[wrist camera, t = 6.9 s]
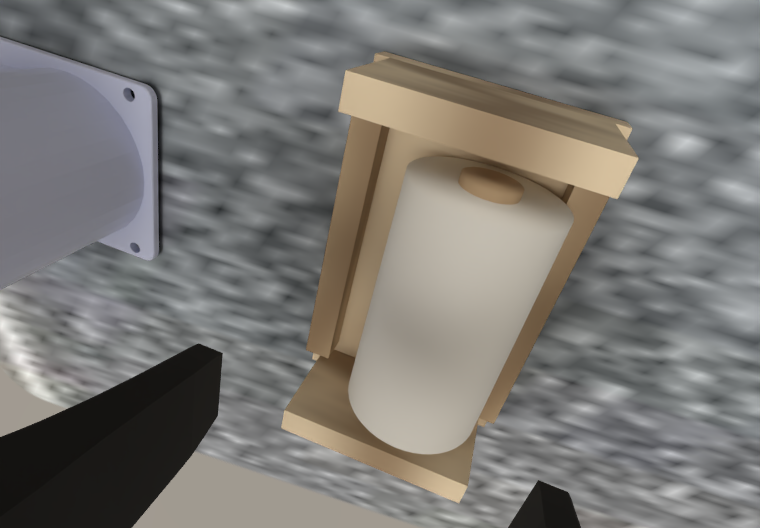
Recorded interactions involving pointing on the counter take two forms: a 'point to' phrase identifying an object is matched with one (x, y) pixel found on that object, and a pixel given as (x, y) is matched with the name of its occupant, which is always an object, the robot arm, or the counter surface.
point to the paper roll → (451, 298)
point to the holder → (376, 211)
